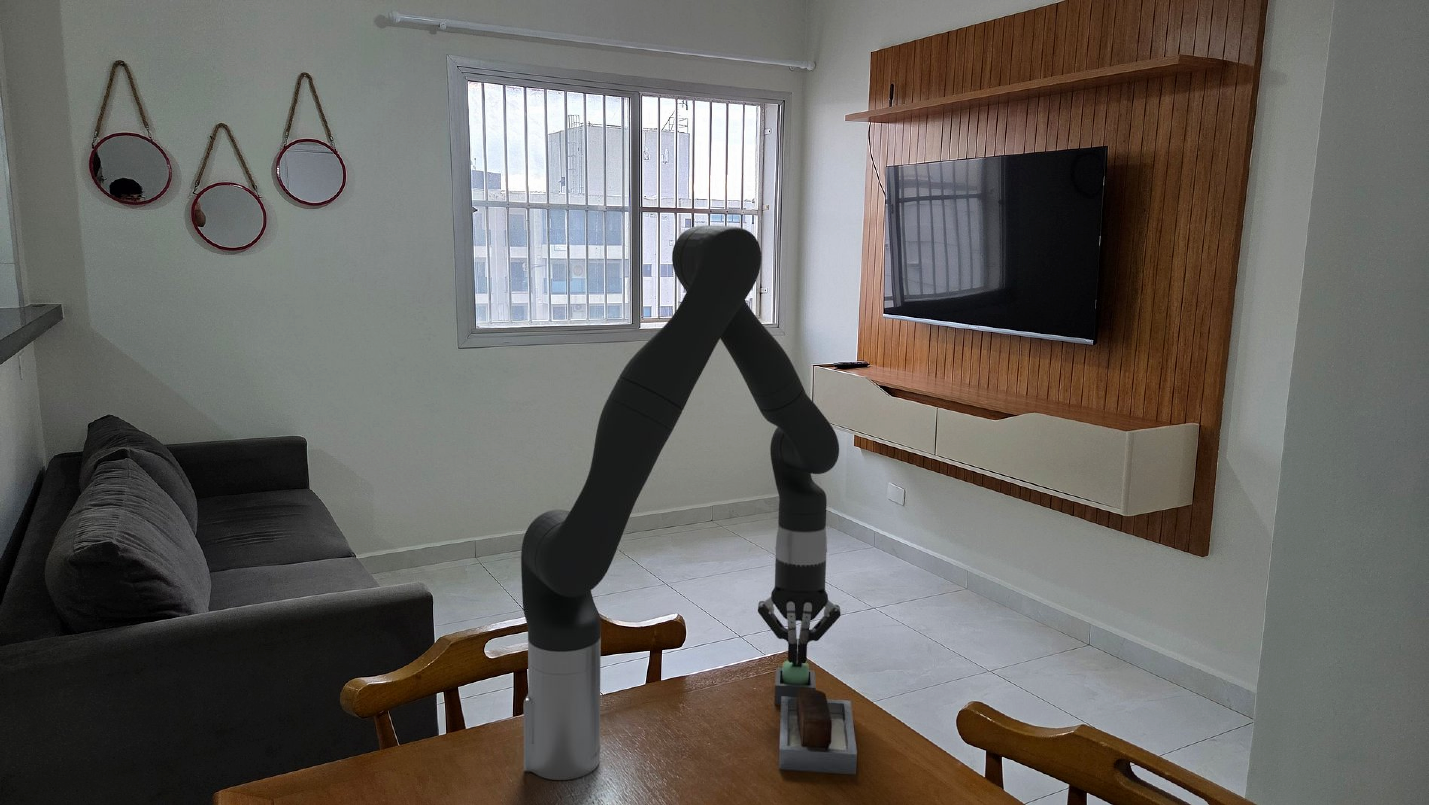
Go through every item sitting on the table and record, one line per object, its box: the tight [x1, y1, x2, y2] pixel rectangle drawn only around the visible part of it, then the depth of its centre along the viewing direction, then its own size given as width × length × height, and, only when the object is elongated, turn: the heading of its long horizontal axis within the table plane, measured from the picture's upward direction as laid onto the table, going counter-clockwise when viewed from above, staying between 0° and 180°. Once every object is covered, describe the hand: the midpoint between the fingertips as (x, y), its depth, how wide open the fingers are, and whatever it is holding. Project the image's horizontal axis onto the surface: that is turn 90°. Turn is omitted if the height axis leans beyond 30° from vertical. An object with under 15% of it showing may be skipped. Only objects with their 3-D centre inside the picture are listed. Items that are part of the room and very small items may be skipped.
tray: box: [778, 696, 858, 776], centre depth 130 cm, size 10×15×3 cm, turn 175°
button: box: [782, 660, 810, 685], centre depth 143 cm, size 4×4×2 cm
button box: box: [774, 667, 817, 706], centre depth 144 cm, size 6×6×3 cm
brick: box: [797, 689, 832, 749], centre depth 130 cm, size 11×4×5 cm, turn 179°
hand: (797, 664), depth 143 cm, fingers closed
